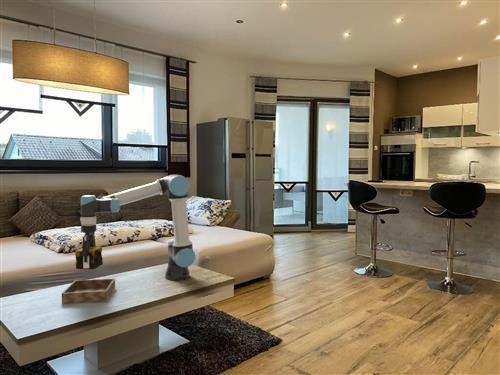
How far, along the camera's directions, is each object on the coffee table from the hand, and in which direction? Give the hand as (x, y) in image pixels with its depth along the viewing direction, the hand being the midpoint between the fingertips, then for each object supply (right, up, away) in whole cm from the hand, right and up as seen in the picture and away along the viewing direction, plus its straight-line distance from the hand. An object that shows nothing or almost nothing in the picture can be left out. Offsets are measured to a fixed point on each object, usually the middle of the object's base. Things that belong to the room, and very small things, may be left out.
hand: (89, 265), depth 201 cm
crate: (0, -17, +1) cm, 17 cm away
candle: (0, -1, 0) cm, 1 cm away
